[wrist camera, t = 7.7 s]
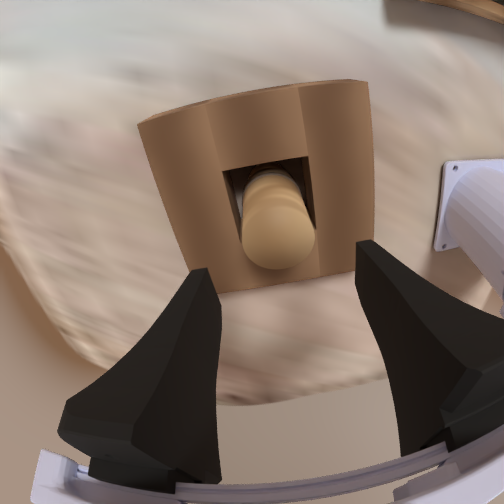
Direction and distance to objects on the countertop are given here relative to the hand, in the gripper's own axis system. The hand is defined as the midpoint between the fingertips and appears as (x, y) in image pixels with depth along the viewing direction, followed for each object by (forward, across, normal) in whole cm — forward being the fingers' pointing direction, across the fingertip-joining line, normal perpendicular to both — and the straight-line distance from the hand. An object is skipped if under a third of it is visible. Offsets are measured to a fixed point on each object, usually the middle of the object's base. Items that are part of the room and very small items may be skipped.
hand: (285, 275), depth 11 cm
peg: (+9, 0, 0) cm, 9 cm away
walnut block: (+9, 0, 0) cm, 9 cm away
